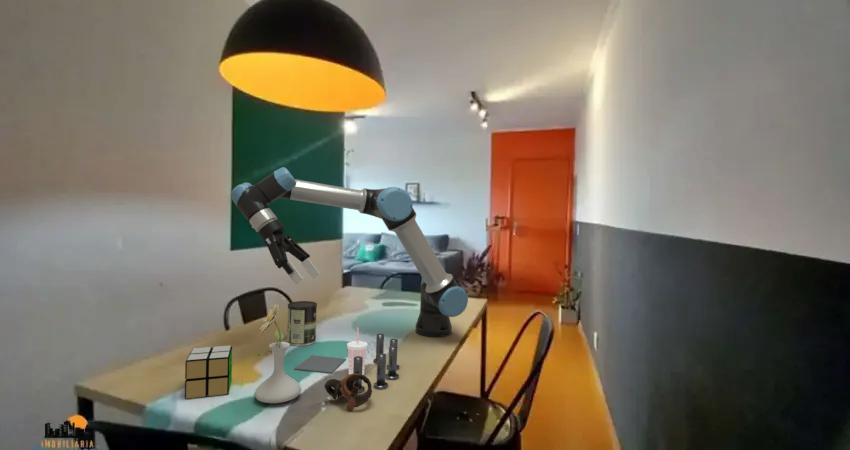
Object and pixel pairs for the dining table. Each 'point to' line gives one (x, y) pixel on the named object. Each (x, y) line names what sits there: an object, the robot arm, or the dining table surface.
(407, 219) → the robot arm
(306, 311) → the coffee can
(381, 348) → the posts
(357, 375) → the pottery mug
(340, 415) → the dining table surface
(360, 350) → the beverage cup
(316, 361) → the mat
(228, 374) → the puzzle cube
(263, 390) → the flower in vase
